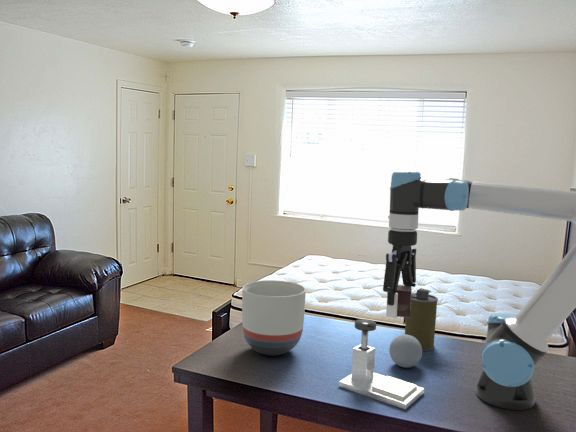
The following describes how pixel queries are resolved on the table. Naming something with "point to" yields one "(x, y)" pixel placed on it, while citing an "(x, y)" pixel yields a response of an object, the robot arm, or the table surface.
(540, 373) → the table surface
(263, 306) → the planter
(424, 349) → the canister
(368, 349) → the press
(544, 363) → the table surface
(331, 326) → the table surface
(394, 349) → the decorative stone
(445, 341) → the table surface
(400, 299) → the box
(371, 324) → the plunger
